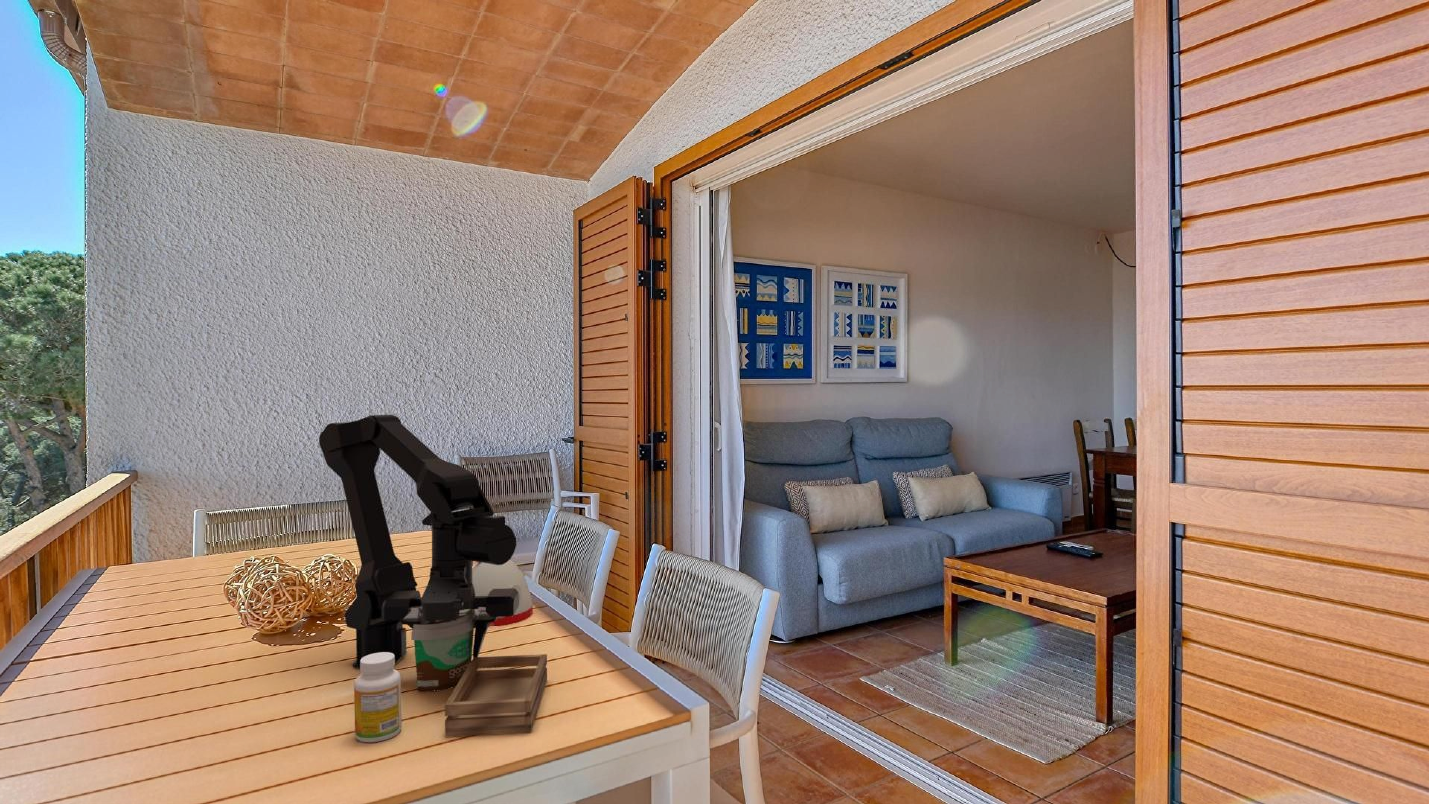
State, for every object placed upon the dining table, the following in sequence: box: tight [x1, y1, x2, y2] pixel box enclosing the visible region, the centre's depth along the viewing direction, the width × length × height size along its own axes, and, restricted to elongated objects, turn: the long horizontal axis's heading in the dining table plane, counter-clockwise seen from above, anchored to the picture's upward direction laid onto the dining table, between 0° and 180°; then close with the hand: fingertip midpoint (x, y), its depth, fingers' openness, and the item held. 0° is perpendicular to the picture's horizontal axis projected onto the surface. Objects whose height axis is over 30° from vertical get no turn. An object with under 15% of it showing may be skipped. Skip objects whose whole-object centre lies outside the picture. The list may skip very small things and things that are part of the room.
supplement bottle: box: [353, 652, 403, 743], centre depth 94 cm, size 5×5×10 cm
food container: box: [410, 609, 477, 693], centre depth 111 cm, size 12×6×10 cm, turn 168°
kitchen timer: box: [472, 542, 534, 627], centre depth 143 cm, size 14×14×15 cm
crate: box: [444, 653, 548, 738], centre depth 102 cm, size 11×17×4 cm, turn 6°
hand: (452, 660), depth 111 cm, fingers open, 6 cm apart
